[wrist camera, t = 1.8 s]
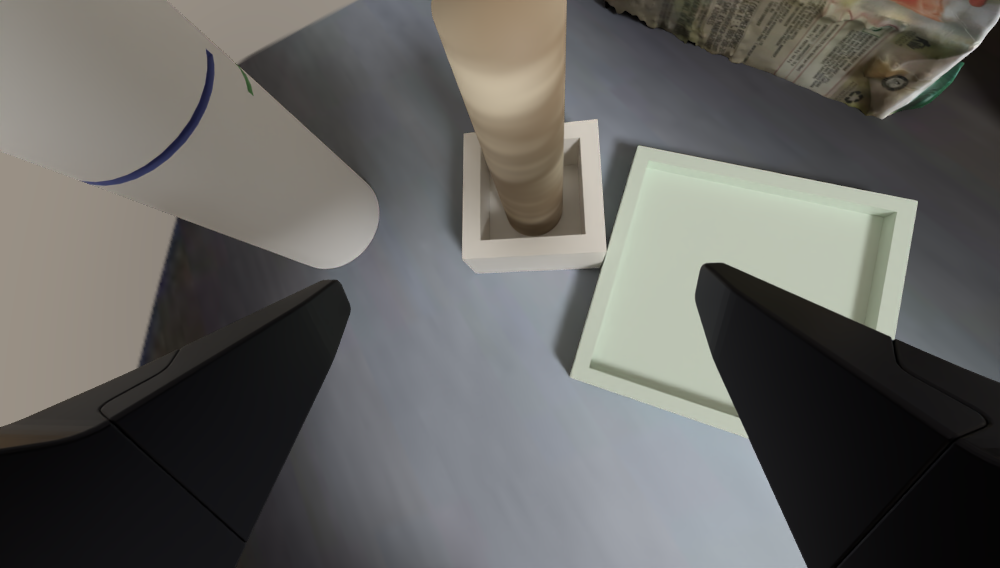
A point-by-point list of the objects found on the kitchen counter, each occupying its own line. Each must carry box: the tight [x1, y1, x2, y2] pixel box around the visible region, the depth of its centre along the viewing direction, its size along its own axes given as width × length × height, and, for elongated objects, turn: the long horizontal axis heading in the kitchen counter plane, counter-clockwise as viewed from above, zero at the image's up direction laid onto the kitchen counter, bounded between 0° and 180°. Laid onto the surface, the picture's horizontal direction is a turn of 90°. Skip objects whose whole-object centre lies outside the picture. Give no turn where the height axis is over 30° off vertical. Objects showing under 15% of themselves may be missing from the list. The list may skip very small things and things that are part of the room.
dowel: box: [431, 0, 567, 236], centre depth 16 cm, size 4×4×14 cm
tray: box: [569, 145, 918, 439], centre depth 20 cm, size 14×14×2 cm
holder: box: [462, 119, 607, 274], centre depth 22 cm, size 8×8×4 cm
